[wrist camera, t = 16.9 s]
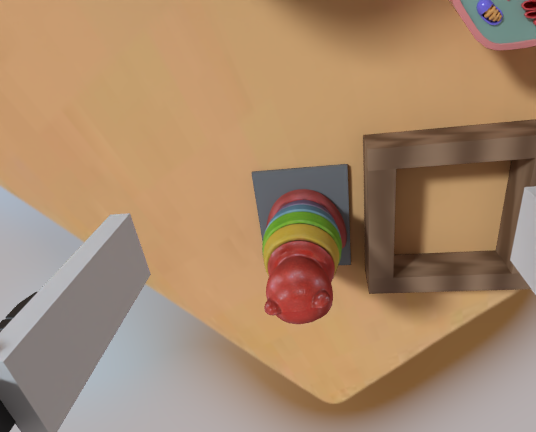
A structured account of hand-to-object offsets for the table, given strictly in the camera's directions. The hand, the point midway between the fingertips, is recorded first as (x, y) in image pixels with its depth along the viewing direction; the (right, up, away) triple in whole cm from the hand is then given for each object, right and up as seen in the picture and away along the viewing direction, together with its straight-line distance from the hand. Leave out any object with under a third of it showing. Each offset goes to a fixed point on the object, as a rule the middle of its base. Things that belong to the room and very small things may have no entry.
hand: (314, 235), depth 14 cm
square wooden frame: (+21, +2, +36) cm, 42 cm away
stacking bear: (+3, 0, +39) cm, 39 cm away
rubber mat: (+3, 0, +40) cm, 40 cm away
